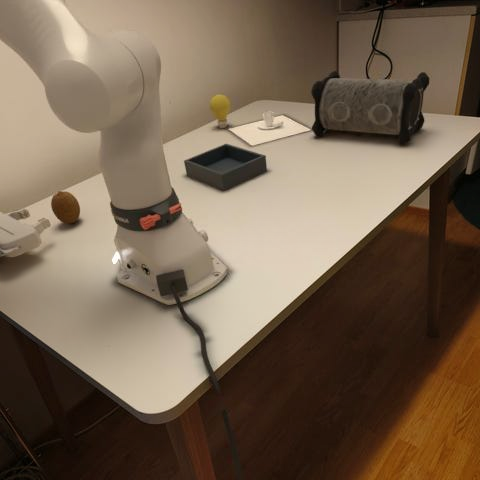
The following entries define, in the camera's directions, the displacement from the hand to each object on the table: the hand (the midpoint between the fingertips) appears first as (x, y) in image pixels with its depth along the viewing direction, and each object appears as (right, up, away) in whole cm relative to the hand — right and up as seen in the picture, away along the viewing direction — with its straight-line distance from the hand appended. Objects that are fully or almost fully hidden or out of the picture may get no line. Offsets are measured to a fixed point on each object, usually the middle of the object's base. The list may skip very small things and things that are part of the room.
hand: (37, 216), depth 103 cm
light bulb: (+40, +41, +50) cm, 76 cm away
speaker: (+83, +30, +29) cm, 93 cm away
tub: (+42, +16, +19) cm, 49 cm away
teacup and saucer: (+55, +37, +42) cm, 79 cm away
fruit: (+5, 0, +7) cm, 9 cm away
